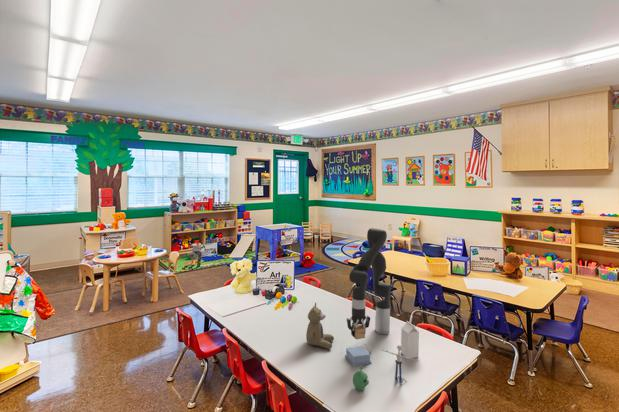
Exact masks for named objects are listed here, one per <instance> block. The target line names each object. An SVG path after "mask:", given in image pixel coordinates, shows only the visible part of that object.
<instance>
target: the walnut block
mask: <svg viewBox="0 0 619 412" xmlns="http://www.w3.org/2000/svg"><path fill="white" fill-rule="evenodd" d="M353 338H354V339H355V340H361V339H365V338H366V331H365V328H364V327H363V326H362V325H361V324H358V325H357V326H356V327H355V337H353Z"/></svg>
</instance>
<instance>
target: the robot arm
mask: <svg viewBox="0 0 619 412" xmlns="http://www.w3.org/2000/svg"><path fill="white" fill-rule="evenodd" d="M387 237H388V234H387V230H385V229H381V228H373V227H371V228H369V229H368V230H367V234H366V238H367V245H368V248H369V249H367V250H366V251H364V253H362V255H361V257H360V259H359V260H358V261H359V262H358V263H357V264H356V265H355V266H354V268H352V270H351V271H350V273H349V281H350V282H351V283H353V284H358V285H359V286H354V287H353V288H352V291H351V292H352V293H351V294H352V299H351V317H350V318H348V317H347V318H346V323H347V328H348V329H349V331H351V332H350V334H351V336H352V338H354V337H355V327H356V326H357V325H360V324H361V325H362V326H363V327H364V328H365V332H366V329H367V328H370V327H369V326H370V322H371V317H370V316H369V315H366V289H367V285H368V282H369V280H370V279H369V274H368V271H370V269H371V270H372V278H373V279H372V282H373V294H374V296H376V297H380V298H383V299H379V300H377V301H376V302H375V319H374V320H375V321H374V323H375V324H374V326H375V327H374V328H375V332H376V333H377V334H379V335H388V334H390V331H391V330H390V329H391V328H390V326H391V325H390V324H391V320H390V319H391V318H390V317H391V293H392V289H391V288H392V287H391V284H390V283H387V282H380V279H381V277H382V276H383V274H385V273H386V270H387V260H386V258H385V256H384V254H383V253H382V251H381V249H382V248H383V246H384V244H385V243H386V241H387Z"/></svg>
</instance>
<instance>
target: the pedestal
mask: <svg viewBox="0 0 619 412" xmlns="http://www.w3.org/2000/svg"><path fill="white" fill-rule="evenodd" d="M345 351H346V354H344V357H345V358H346V359H347V361H348V362H349V364H350V365H351V366H352V367H353V368H354V367H358V366H359V367H360V366H364V365H365V366H366V365H370V364H372V363H373V362H372V361H371V353H370V352H369V350H367V349H366V348H365V346H363V345H359V346H357V345H356V346H351V347H347V348H346V350H345Z"/></svg>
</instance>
